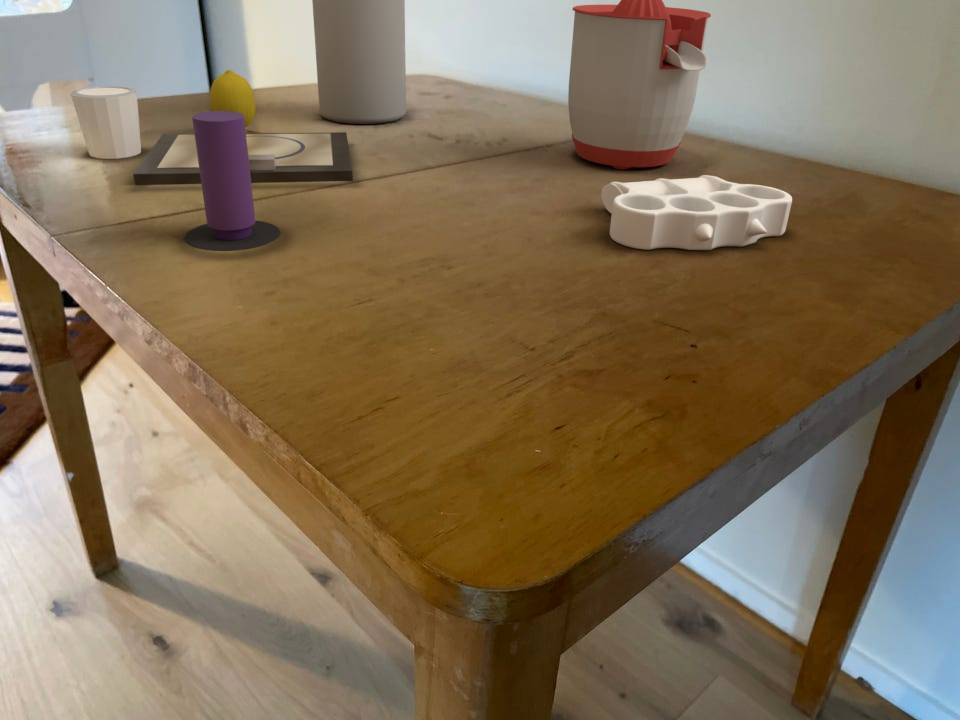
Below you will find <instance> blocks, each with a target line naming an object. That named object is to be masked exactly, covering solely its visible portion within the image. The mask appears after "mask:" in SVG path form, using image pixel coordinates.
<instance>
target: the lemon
mask: <svg viewBox="0 0 960 720" xmlns="http://www.w3.org/2000/svg"><path fill="white" fill-rule="evenodd" d="M210 86H211V87H210V93H209V104H210V109H211V111H231V112H238V113H241V114H243V115H244V121H245V129H246V128H248V127H249V126H250V125H251V123H253V120H254V118H255V115H256V99H255V95H254V91H253V88H252V86H251V84H250V82H249V81H248V80H246V78H244V76H242V75H240V74H238V73H236V72H235V71H233V69H227V70H225V72H224V73H222V74H220V75H218V76H217V77H216V78H215V79H214V80H213V82H212V84H211V85H210Z"/></svg>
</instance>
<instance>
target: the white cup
mask: <svg viewBox="0 0 960 720" xmlns="http://www.w3.org/2000/svg"><path fill="white" fill-rule="evenodd" d="M70 96H71V100H72V103H73V106H74V110H75V113H76V116H77V120H78V123H79V126H80V129H81V132H82V136H83V139H84V142H85V146H86V149H87V152H88V155H89V156H90V157H91V158H95V159H103V160H118V159H126V158H132V157H135V156H138V155H139V154H141V153H142V142H141V132H140V131H141V129H140V117H139V105H138V104H139V103H138V92H137V90H136V89H134V88H131V87H130V88H129V87H123V86H94V87H85V88H79V89H75V90H73V91H71V92H70Z"/></svg>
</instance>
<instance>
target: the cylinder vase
mask: <svg viewBox="0 0 960 720" xmlns="http://www.w3.org/2000/svg"><path fill="white" fill-rule="evenodd" d="M311 2H312V16H313V32H314V47H315V49H314V50H315V61H316V63H315V65H316V77H317V93H318V109H319V113H320V115H321V116H322V117H323V118H324V119H326V120H328V121H332V122H335V123H341V124H349V125H378V124H379V125H380V124H386V123H387V124H388V123H393V122H396V121H399V120H401V119H402V118H404V117H405V115H406V113H407V83H406V82H407V81H406V80H407V79H406V78H407V77H406V76H407V75H406V74H407V73H406V68H407V67H406V9H405V8H406V2H405V0H312V1H311Z"/></svg>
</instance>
